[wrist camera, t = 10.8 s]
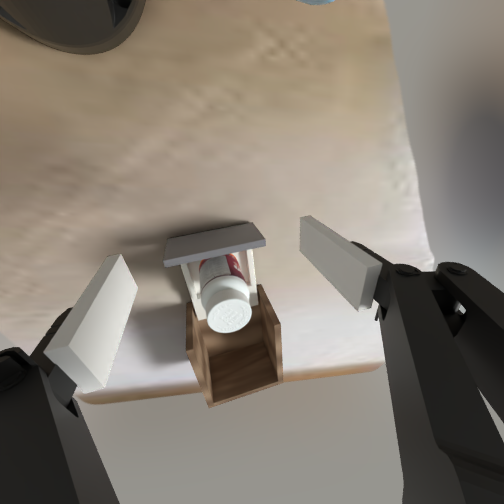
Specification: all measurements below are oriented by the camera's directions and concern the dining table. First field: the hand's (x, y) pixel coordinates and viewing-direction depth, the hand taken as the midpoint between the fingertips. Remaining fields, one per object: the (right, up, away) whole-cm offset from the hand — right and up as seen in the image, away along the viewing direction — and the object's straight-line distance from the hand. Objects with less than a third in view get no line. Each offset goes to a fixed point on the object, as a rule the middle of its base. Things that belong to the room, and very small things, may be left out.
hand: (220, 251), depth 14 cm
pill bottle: (-3, -2, +19) cm, 19 cm away
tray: (-3, -4, +22) cm, 22 cm away
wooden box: (-2, -15, +28) cm, 32 cm away
